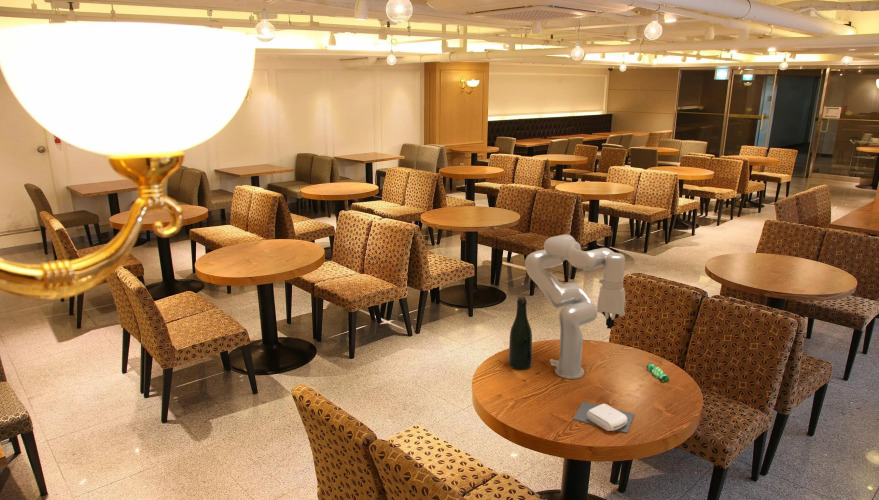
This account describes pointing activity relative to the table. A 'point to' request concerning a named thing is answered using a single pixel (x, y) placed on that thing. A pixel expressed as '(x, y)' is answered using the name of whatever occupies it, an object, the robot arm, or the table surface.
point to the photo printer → (607, 417)
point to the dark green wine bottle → (520, 338)
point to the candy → (657, 372)
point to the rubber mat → (582, 417)
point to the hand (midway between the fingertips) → (609, 327)
